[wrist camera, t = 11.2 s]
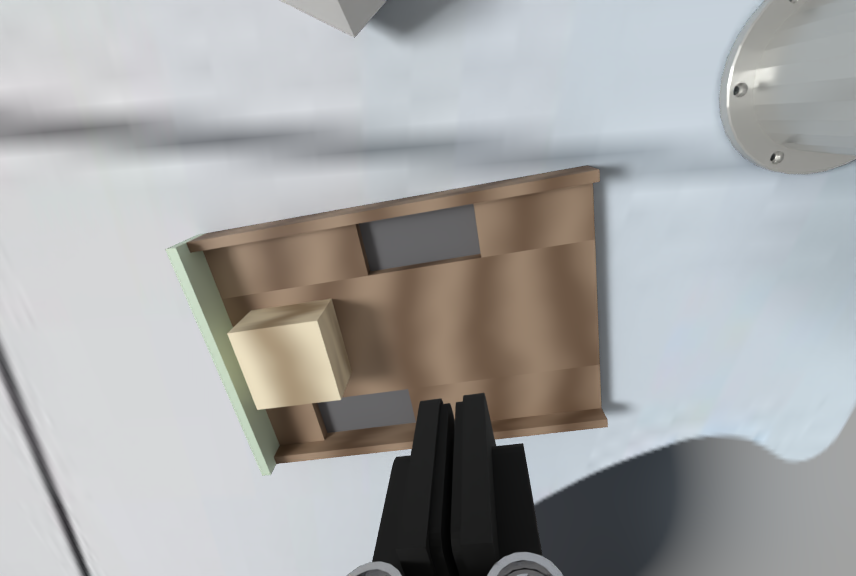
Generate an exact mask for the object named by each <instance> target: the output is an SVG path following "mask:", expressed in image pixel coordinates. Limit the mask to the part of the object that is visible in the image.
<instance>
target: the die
mask: <svg viewBox="0 0 856 576" xmlns="http://www.w3.org/2000/svg"><path fill="white" fill-rule="evenodd" d="M280 1H282V2H284V3H286V4H288V5H290V6H292V7H294V8H296V9H298V10H300V11H302V12H304V13H306V14H308V15H310V16H312V17H314V18H316V19H318V20H320V21H322V22H324V23H326V24H328V25H330V26H332V27H334V28H336V29H338V30H340V31H342V32H344V33H346V34H348V35H350V36H352V37H354V38H355V37H356V36H357V35H358V33H359V32H360V31H361V30H362V29H363V28H364V26H365V25H366V24H367V23H368V22H369V21H370V20H371V18H372V17H373V16H374V15H375V14H376V13H377V11H378V10H379V9H380V8H381V7H382V6H383V5H384V3H385V2H386V1H387V0H280Z"/></svg>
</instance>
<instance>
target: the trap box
mask: <svg viewBox="0 0 856 576" xmlns="http://www.w3.org/2000/svg"><path fill="white" fill-rule="evenodd" d="M595 182H600V172H599V169H596V168H593V167H590V166H581V167H575V168H570V169H564V170H559V171H553V172H547V173H542V174H536V175H531V176H525V177H519V178H514V179H508V180H503V181H497V182H491V183H486V184H480V185H475V186H469V187H463V188H458V189H452V190H447V191H441V192H435V193H430V194H424V195H419V196H413V197H407V198H402V199H396V200H391V201H385V202H379V203H374V204H368V205H363V206H357V207H351V208H346V209H340V210H335V211H329V212H323V213H318V214H312V215H307V216H301V217H295V218H290V219H284V220H279V221H273V222H267V223H262V224H256V225H251V226H245V227H239V228H234V229H228V230H223V231H217V232H212V233H206V234H204V235H201V236H199V237H197V238H195V239H193V240H191V241H189V242H187V243H186V244H187V246H188V249H189V251H190V253H192V252H198V251H203V253H204V256H205V258H206V261H207V263H208V266H209V268H210V271H211V273H212V276H213V278H214V281H215V283H216V286H217V288H218V291H219V293H220V296H221V298H222V301H223V304H224V306H225V309H226V311H227V314H228V316H229V319H230V321H231V324H232V326H233V327H234V326H235V325H236V324H237V323H238V322H239V321H241V320H242V319H243V318H244V317H245V316H246V315H247V314H248V313H249V312H250V311H251V310H258V309H265V308H272V307H279V306H286V305H292V304H299V303H306V302H313V301H320V300H327V299H332V302H333V306H334V309H335V313H336V316H337V320H338V323H339V327H340V331H341V334H342V338H343V341H344V345H345V348H346V352H347V355H348V359H349V363H350V366H351V370H352V373H351V375H350V378H349V381H348V383H347V386H346V388H345V391H344V394H343V396H342V397H350V396H358V395H366V394H374V393H381V392H389V391H397V390H405V389H408V391H409V395H410V399H411V403H412V408H413V412H414V416H415V420H416V421H417V415H418V408H419V403H420V401H424V400H432V399H439V398H441V399H442V401H443V403H444V404H446V403H450V404H451V407H452V411H453V415H454V419H455V406H456V402H461V401H463V396H464V395H470V394H478V393H485V396H486V401H487V405H488V410H489V415H490V420H491V424H492V429H493V434H494V439H504V438H513V437H522V436H531V435H540V434H549V433H558V432H567V431H576V430H585V429H593V428H602V427H608V423H607V418H606V416H605V414H604V412H603V410H602V408H601V385H600V358H599V332H598V306H597V279H596V253H595V227H594V200H593V183H595ZM468 204H474V211H475V218H476V225H477V232H478V239H479V246H480V253H481V254H476V255H470V256H464V257H457V258H451V259H445V260H439V261H432V262H426V263H420V264H414V265H408V266H401V267H395V268H389V269H383V270H376V271H370V268H369V263H368V259H367V255H366V251H365V247H364V243H363V239H362V235H361V231H360V227H359V223H365V222H371V221H376V220H382V219H388V218H394V217H399V216H405V215H411V214H417V213H422V212H428V211H434V210H440V209H445V208H451V207H457V206H463V205H468ZM265 410H266V412H267V415H268V417H269V420H270V422H271V425H272V427H273V430H274V432H275V435H276V437H277V440H278V442H279V445H280V446H279V448H278V450H277V452H276V454H275V456H274V459H275V462H276V464H279V463H288V462H297V461H306V460H315V459H324V458H333V457H342V456H351V455H360V454H369V453H378V452H387V451H396V450H405V449H412V445H413V439H414V433H415V427H416V423H407V424H399V425H390V426H382V427H373V428H365V429H356V430H348V431H340V432H331V433H327V430H326V427H325V424H324V421H323V418H322V415H321V412H320V410H319V407H318V404H317V403H311V404H302V405H294V406H286V407H277V408H269V409H265Z"/></svg>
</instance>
